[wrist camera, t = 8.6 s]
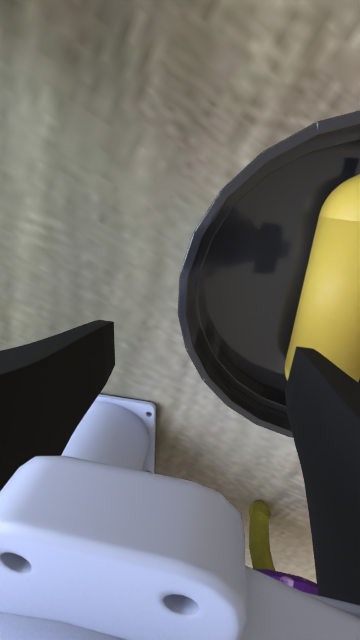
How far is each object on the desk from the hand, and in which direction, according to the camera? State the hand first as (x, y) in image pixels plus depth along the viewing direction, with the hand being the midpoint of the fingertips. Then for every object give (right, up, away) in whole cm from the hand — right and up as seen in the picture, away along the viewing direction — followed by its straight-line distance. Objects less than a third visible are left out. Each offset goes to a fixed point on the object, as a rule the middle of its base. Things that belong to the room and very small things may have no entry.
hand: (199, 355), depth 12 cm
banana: (+9, +3, +7) cm, 11 cm away
